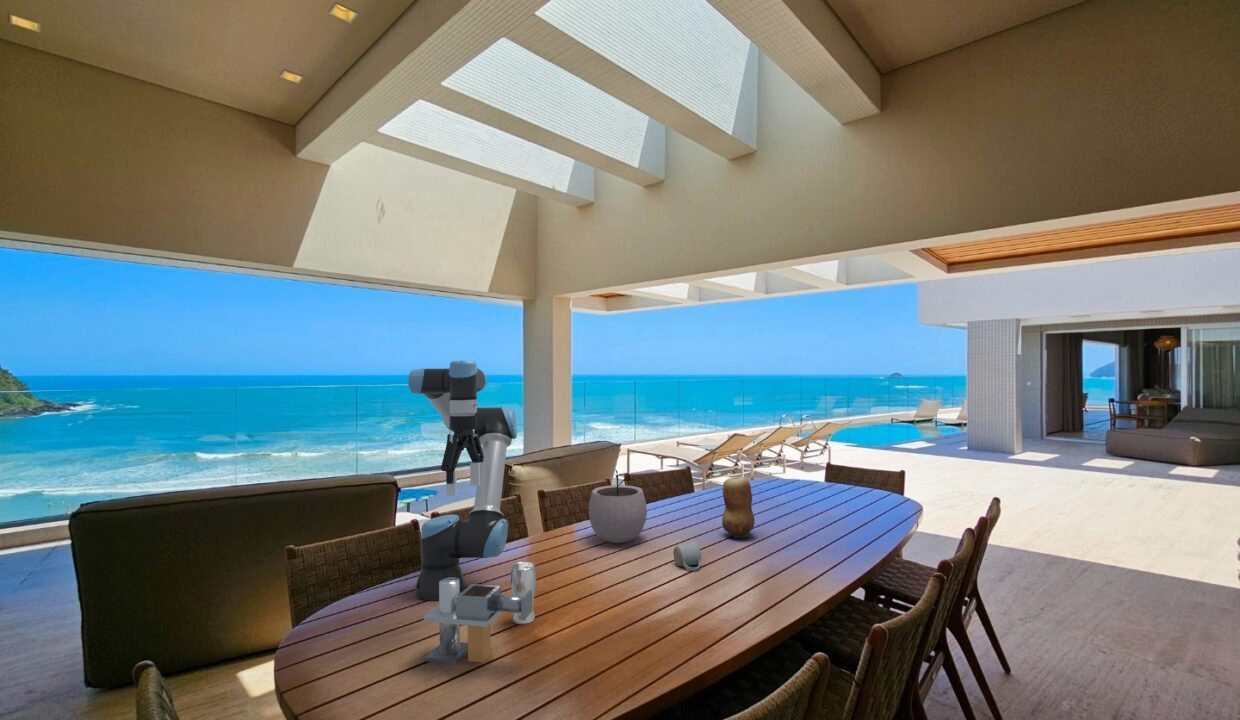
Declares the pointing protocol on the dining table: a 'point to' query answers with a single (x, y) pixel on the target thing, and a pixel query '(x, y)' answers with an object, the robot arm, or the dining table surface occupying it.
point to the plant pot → (617, 512)
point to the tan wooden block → (479, 643)
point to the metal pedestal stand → (451, 624)
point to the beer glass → (523, 586)
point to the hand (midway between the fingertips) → (463, 490)
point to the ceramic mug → (688, 555)
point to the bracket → (490, 602)
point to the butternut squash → (737, 507)
